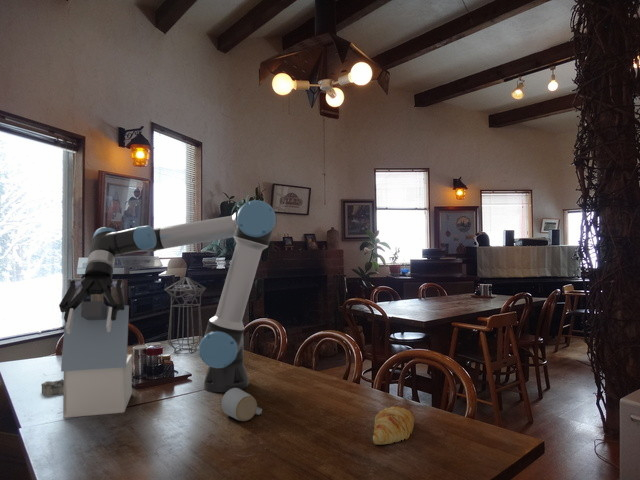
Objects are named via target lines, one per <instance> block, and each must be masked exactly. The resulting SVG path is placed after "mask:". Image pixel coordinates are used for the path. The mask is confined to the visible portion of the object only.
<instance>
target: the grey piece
mask: <svg viewBox="0 0 640 480" xmlns="http://www.w3.org/2000/svg"><path fill="white" fill-rule="evenodd" d="M63 389H64V378H62V379H60V380H54V381H51V380H47V381H44V382H43V383H41V394H42V395H43V397H44V396H46V397H47V396H48V397H50V396H53V395H56V394H57V395H58V394H59V395H63Z"/></svg>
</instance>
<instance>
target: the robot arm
mask: <svg viewBox="0 0 640 480" xmlns="http://www.w3.org/2000/svg"><path fill="white" fill-rule="evenodd" d="M277 223H278V222H277V215H276V212H275V210H274V208H273V207H272V205H271V204H269V203H267V202H266V201H263V200H258V199H256V200H254V199H252V200H250V201H246V203H244V204H243V205H241V207H240V208H239V210H238V211H235V212H234V213H233V214H232V215H228V216H221V217H217V218H210V219H203V220H199V221H192V222H186V223H180V224H175V225H169V226H163V227H157V228H156V227H154V228H153V227H152V226H151V225H141V226H140V225H139V226H137V227H133V228H128V229H127V228H126V229H124V230H119V231H116V229H114V228H111V227H106V226H103V227H100V228H97V229H96V230H95V231H94V233H93V236H92V238H91V240H90V248H89V249H90V250H89V253H88V257H87V261H86V267H85V271H84V275H83V278H82V279H81V281H76V280H74V279H72V280H71V281H70V282H69V283H70V284H69V287H68V289H67V291H66V293H65V294H64V295H63V298H62V299H61V301H60V303H59V304H58V307H59V310H60V312H61V313H64V315H63V320H64V323H65V322H67V324H66V331H67V334H70V333H71V329H72V324H73V320H74V315H75V314H74V310H75V309H76V308H77V307H80V305H81V304H82V302H84V300H85V299H87V298H88V297H89V296H92V295H103V297H104V298H105V299H106V302H107V303H108V306H110V307H109V311H108V318H107V324H106V328H107V332H110V331H111V324H112V321H114V320H116V317H117V312H118V311H119V310H124V309H125V307H124V306H125V301H124V297H123V292H122V289H123V281H122V279H118V280H117V281H116V280H113V275H114V268H115V260H116V257H117V256H121V255H122V256H123V255H125V254H132V253H136V252H140V253H141V252H147V253H151V252H156V251H160V250H165V249H171V248H176V247H183V246H188V245H189V246H190V245H196V244H201V243H207V242H214V241H218V240H224V239H225V240H226V239H230V238H231V239H232V238H233V239H234V242H235V247H234V251H233V252H232V253H233V254H232V257H231V260H230V264H229V267H228V269H227V270H228V271H227V274H226V277H225V281H224V283H223V284H224V285H223V288H222V291H221V295H220V299H219V301H218V305H217V309H216V313H215V314H214V316H212V317H211V318H209V320H208V321H207V326H206V330H205V332H204V335H203V338H201V340H200V341H201V342H199V343H200V344H199V345H198V354H199V358H200V359H201V360H202V362H204V364H205V365H206V366H208V368H207V371H206V375H205V377H204V381H203V388H204V390H206V391H208V392H213V393H226V392H227V391H228V390H230V389H232V388H239V389H241V390H244V389H246V388H248V386H249V377H248V373H247V370H246V367H245V364H244V331H245V330H246V329H245V326H244V322H243V319H244V315H245V312H246V311H245V310H246V307H247V305H248V301H249V297H250V294H251V290H252V288H253V285H254V280H255V277H256V274H257V270H258V267H259V262H260V260H261V256H262V252H263V251H264V250H265V249H267V248H268V247H269V245H270V243H271V239H272V235H273V232H274V230H275V229H276V226H277ZM80 287H82V288H81V289H80V291H79V292H78V293H77V291H78V290H79V288H80ZM112 287H114V289H115V290H116V295H117V300H118V303H117V302H116V301H115V299H114V297H113V296H112V294H111V292H110V291H109V289H111V288H112ZM76 293H77V294H76Z"/></svg>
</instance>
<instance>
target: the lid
mask: <svg viewBox="0 0 640 480" xmlns="http://www.w3.org/2000/svg"><path fill="white" fill-rule="evenodd" d="M109 307H110V305H108V306H107V305H106V304H105V303H104V302H103V301H101V300H100V301H82V302H81V306H78V307H77V308H76V309H75V310H74V314H75V315H74V320H73V324H72V329H71V333H70V334H67V331H66V324H67V322H65V321H64V325H63V326H64V327H63V337H62V338H63V341H62V354H61V369H60V372H63V373H64V371H78V370H93V369H109V368H124V367H126V366H127V355H128V341H129V340H128V338H129V337H128V336H129V312H130V311H129V309H130V305H124V307H125V309H124V310H119V311H118V312H117V317H116V320H114V321H112V324H111V331H110V332H107V328H106V324H107V318H108V311H109Z"/></svg>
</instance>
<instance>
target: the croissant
mask: <svg viewBox="0 0 640 480" xmlns="http://www.w3.org/2000/svg"><path fill="white" fill-rule="evenodd" d="M414 415H415V414H414V413H413V411H412V410H409V409H407V408H405V407H404V406H397V405H396V406H388V407H385V408H383V409H381V410H380V411H379V412H378V413H377V414H376V415H375V417H374V425H373V435H372V441H373V444H374V445H379V446H381V445H390V444H393V443H394V442H395V443H398V442H402V441H404V439H405V440H408V439H409V438H410V436H411V435H412V433H413V431H414V427H415V416H414ZM410 434H411V435H410ZM401 440H402V441H401Z"/></svg>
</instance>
